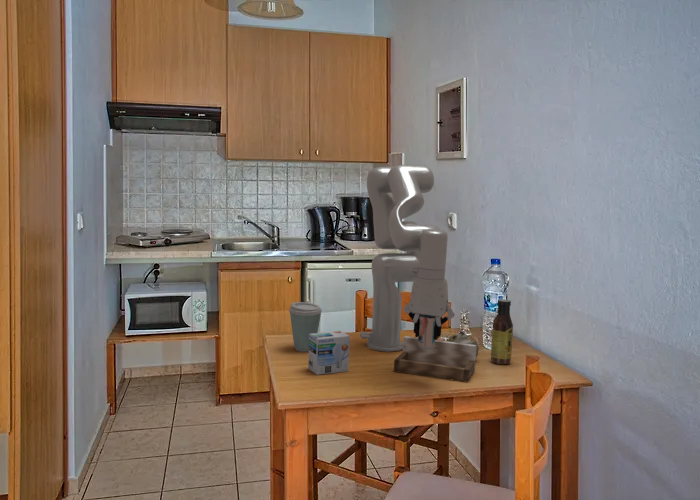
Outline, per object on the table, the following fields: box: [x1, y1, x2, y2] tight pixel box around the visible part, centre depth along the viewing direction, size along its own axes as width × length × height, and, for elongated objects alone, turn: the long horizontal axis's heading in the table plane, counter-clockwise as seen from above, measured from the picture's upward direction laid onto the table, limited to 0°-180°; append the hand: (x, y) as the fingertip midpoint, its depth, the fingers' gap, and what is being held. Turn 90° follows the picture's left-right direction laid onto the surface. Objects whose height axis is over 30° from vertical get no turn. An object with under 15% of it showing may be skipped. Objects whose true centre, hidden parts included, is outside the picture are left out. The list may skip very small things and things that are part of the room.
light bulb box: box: [307, 330, 351, 376], centre depth 186 cm, size 11×7×11 cm, turn 117°
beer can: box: [417, 314, 437, 349], centre depth 178 cm, size 5×5×12 cm
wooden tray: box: [393, 335, 477, 382], centre depth 189 cm, size 22×11×8 cm, turn 70°
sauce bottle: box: [490, 298, 514, 365], centre depth 199 cm, size 7×6×20 cm
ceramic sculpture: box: [447, 331, 479, 358], centre depth 204 cm, size 11×9×15 cm
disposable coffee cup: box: [288, 301, 323, 353], centre depth 206 cm, size 11×11×15 cm
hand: (427, 336), depth 178 cm, fingers closed on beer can, 4 cm apart
